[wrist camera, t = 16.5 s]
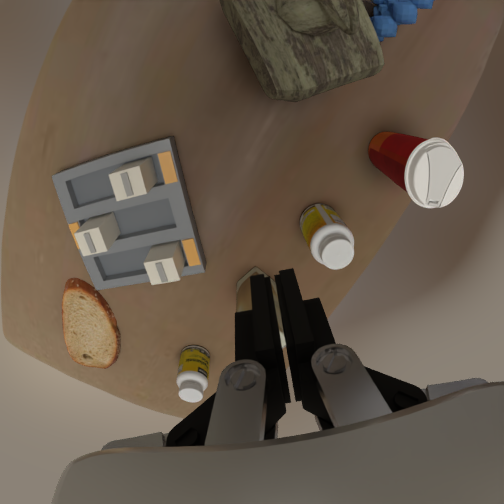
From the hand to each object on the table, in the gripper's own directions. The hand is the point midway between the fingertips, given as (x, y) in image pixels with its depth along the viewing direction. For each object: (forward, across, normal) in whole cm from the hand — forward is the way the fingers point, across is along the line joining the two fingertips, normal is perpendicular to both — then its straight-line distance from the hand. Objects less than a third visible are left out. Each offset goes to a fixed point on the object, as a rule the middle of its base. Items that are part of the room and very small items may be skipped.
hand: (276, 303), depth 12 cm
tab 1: (+30, +22, +5) cm, 37 cm away
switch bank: (+31, +18, +5) cm, 36 cm away
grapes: (+31, -20, -18) cm, 41 cm away
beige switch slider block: (+30, +14, -1) cm, 33 cm away
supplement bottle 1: (+31, +16, +33) cm, 48 cm away
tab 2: (+30, +13, +11) cm, 35 cm away
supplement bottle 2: (+31, -8, +11) cm, 34 cm away
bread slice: (+32, +35, +24) cm, 53 cm away
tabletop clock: (+31, -6, -14) cm, 35 cm away
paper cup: (+31, -19, +2) cm, 37 cm away
